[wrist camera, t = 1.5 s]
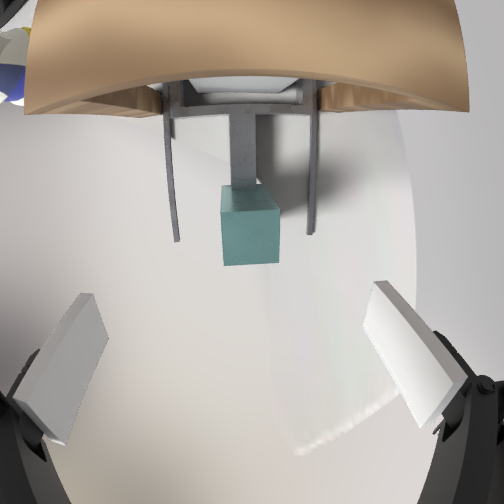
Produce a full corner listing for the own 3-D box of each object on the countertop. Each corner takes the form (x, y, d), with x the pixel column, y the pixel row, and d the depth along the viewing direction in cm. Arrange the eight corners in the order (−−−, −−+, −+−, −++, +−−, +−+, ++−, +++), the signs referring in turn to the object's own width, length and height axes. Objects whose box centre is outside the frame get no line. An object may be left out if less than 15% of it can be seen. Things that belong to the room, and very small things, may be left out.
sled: (175, 8, 20) (157, -33, 11) (301, 8, 21) (331, -31, 12) (182, 226, 31) (166, 268, 22) (303, 220, 32) (333, 259, 23)
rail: (165, 11, 20) (164, 10, 19) (311, 10, 21) (312, 9, 21) (175, 240, 32) (174, 242, 31) (311, 233, 33) (312, 234, 33)
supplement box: (280, 95, 26) (330, 67, 12) (195, 94, 25) (167, 60, 11) (281, 25, 22) (325, -41, 8) (200, 22, 21) (182, -50, 8)
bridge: (141, 20, 20) (62, -64, 2) (334, 19, 22) (435, -51, 4) (139, 117, 25) (24, 114, 8) (338, 112, 27) (469, 112, 9)
